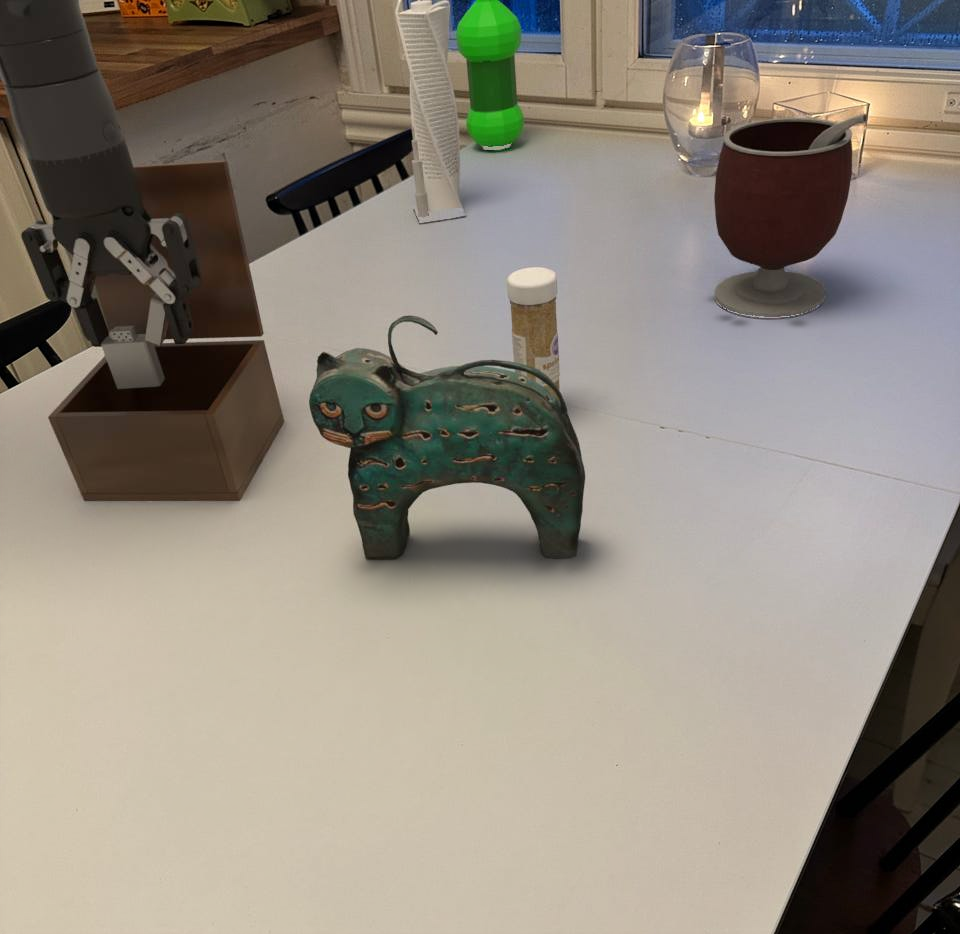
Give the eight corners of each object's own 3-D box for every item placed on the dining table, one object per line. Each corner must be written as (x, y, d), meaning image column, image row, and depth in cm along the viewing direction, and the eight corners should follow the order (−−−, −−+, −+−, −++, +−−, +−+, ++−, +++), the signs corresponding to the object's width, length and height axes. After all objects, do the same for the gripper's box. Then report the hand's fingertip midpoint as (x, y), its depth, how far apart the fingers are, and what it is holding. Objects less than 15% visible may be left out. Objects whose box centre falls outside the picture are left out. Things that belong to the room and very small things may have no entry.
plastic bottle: (459, 156, 164) (442, -19, 148) (479, 138, 172) (465, -30, 155) (515, 156, 161) (504, -23, 145) (533, 137, 169) (524, -34, 152)
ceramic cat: (342, 567, 79) (288, 335, 66) (360, 522, 84) (313, 297, 70) (584, 570, 76) (579, 327, 62) (588, 523, 80) (584, 287, 67)
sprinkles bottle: (561, 419, 94) (555, 283, 85) (514, 420, 94) (504, 286, 85) (562, 396, 97) (557, 263, 88) (517, 398, 98) (508, 266, 89)
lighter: (116, 389, 88) (84, 304, 83) (122, 380, 89) (92, 295, 84) (191, 384, 87) (164, 298, 82) (196, 375, 88) (170, 290, 83)
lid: (223, 161, 83) (226, 159, 84) (58, 171, 86) (63, 169, 86) (261, 336, 92) (264, 333, 93) (111, 341, 95) (115, 338, 95)
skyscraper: (411, 206, 146) (383, -12, 128) (463, 198, 147) (443, -20, 129) (419, 224, 140) (390, -4, 122) (473, 215, 141) (452, -12, 122)
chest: (239, 500, 88) (213, 414, 82) (83, 500, 91) (47, 417, 85) (284, 420, 99) (264, 339, 93) (143, 423, 101) (115, 344, 95)
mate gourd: (682, 302, 112) (692, 111, 98) (755, 264, 118) (774, 80, 105) (796, 337, 102) (824, 132, 89) (869, 294, 109) (905, 97, 95)
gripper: (177, 122, 76) (231, 321, 87) (14, 133, 79) (86, 326, 89) (140, 150, 71) (203, 359, 82) (-34, 161, 73) (49, 363, 84)
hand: (142, 341), depth 86 cm, fingers closed on lighter, 7 cm apart
